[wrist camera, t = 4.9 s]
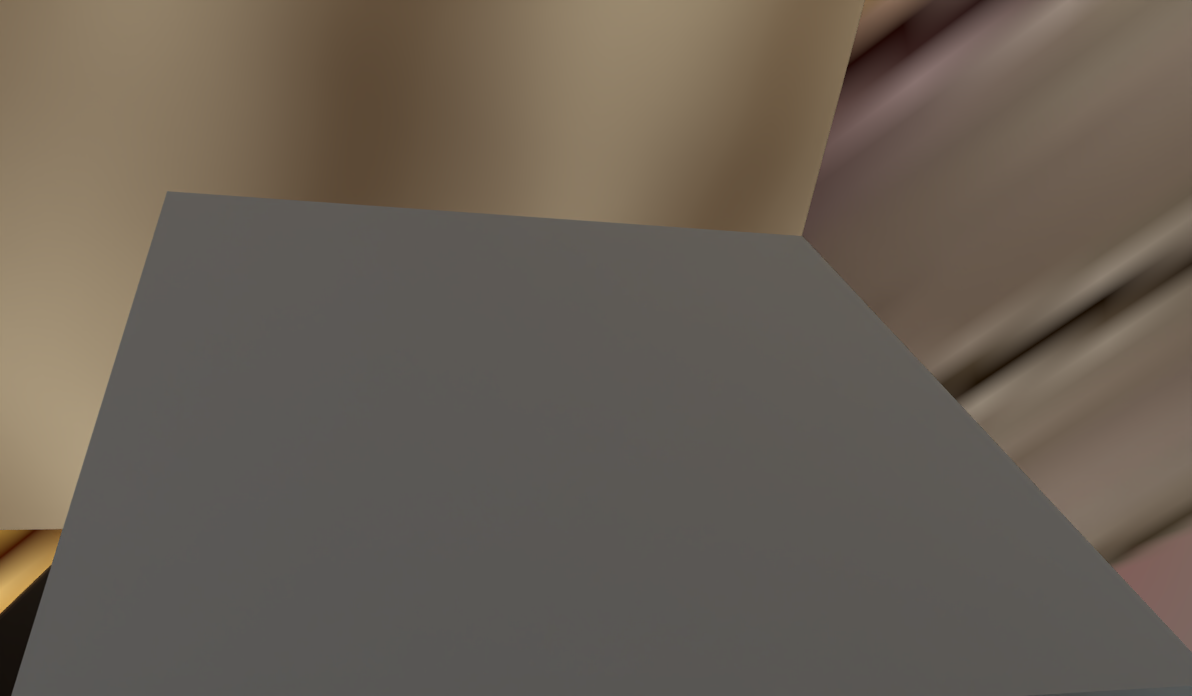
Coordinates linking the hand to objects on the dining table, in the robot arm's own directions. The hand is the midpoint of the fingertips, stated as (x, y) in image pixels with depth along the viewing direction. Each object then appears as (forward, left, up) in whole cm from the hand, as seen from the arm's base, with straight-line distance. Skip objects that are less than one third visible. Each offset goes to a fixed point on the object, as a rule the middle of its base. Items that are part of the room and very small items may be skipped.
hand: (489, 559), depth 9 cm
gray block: (0, 0, -1) cm, 1 cm away
